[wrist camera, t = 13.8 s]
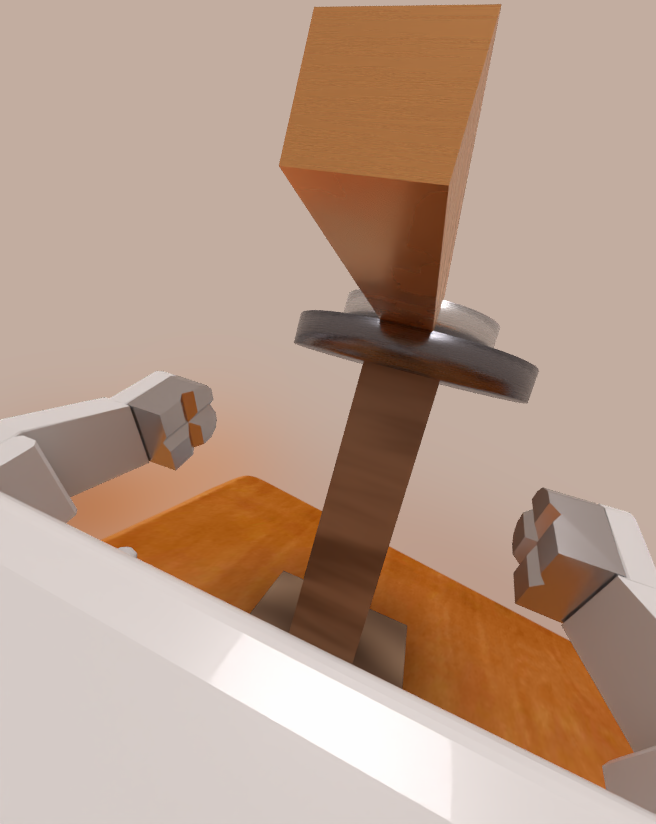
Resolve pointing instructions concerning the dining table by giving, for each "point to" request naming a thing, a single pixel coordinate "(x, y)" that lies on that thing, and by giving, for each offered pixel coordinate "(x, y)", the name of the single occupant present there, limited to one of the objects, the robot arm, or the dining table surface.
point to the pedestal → (376, 477)
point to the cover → (392, 151)
